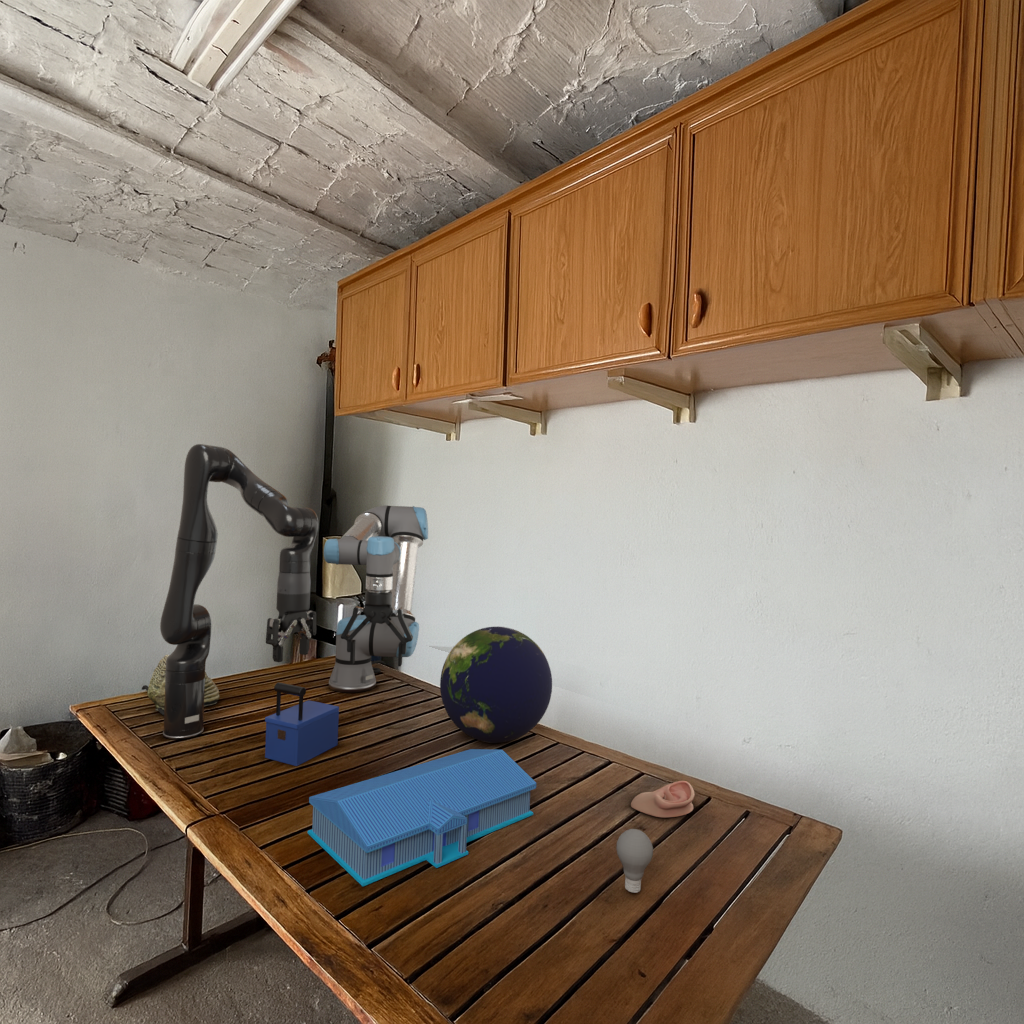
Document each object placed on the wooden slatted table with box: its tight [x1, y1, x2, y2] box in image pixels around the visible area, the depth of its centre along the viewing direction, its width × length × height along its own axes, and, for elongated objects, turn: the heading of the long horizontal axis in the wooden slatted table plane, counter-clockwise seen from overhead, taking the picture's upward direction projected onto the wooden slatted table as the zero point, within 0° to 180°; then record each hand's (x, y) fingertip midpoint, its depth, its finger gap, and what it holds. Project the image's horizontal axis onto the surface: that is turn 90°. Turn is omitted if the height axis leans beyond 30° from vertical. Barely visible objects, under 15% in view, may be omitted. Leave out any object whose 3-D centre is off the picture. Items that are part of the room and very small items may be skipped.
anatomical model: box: [630, 780, 695, 818], centre depth 136 cm, size 13×4×12 cm
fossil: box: [147, 654, 221, 711], centre depth 185 cm, size 9×18×15 cm, turn 132°
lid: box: [264, 682, 340, 729], centre depth 156 cm, size 15×10×9 cm, turn 156°
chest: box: [264, 710, 340, 767], centre depth 157 cm, size 15×10×9 cm
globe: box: [439, 625, 553, 744], centre depth 169 cm, size 30×30×30 cm
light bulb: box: [615, 828, 654, 894], centre depth 106 cm, size 6×6×10 cm
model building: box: [307, 748, 538, 887], centre depth 123 cm, size 39×24×10 cm, turn 132°
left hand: (291, 657), depth 152 cm, fingers open, 8 cm apart
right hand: (376, 664), depth 182 cm, fingers open, 13 cm apart
